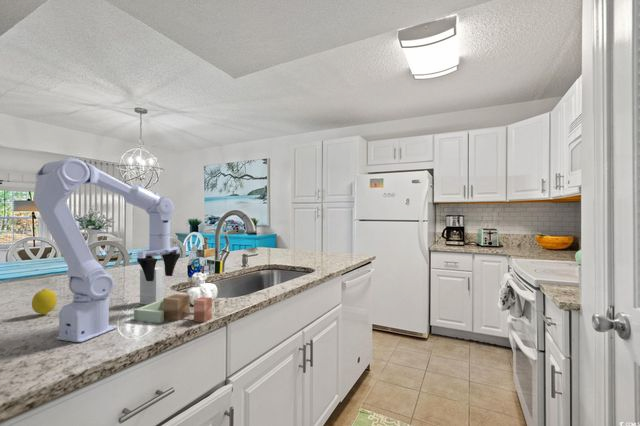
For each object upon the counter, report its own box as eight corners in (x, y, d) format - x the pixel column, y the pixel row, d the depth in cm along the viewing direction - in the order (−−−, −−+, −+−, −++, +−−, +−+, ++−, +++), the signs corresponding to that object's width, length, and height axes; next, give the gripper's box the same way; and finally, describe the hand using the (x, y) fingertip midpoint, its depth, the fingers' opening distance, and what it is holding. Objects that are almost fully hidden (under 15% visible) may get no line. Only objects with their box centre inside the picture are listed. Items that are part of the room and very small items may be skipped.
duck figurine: (214, 303, 106) (202, 277, 109) (226, 293, 103) (213, 266, 106) (185, 313, 95) (172, 284, 99) (197, 301, 92) (183, 272, 96)
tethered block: (202, 323, 80) (202, 301, 80) (163, 319, 83) (163, 298, 84) (213, 317, 85) (213, 296, 85) (175, 313, 88) (175, 294, 88)
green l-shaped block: (160, 322, 81) (160, 312, 81) (134, 320, 83) (134, 309, 83) (186, 311, 90) (186, 301, 90) (161, 309, 93) (161, 299, 93)
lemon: (41, 318, 85) (41, 291, 85) (26, 317, 86) (26, 290, 86) (61, 312, 90) (61, 287, 90) (47, 311, 91) (47, 286, 91)
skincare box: (164, 301, 102) (164, 267, 102) (155, 305, 97) (156, 269, 97) (147, 300, 102) (148, 267, 102) (139, 304, 98) (139, 269, 98)
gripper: (151, 236, 83) (151, 284, 83) (186, 233, 97) (186, 274, 97) (131, 236, 84) (131, 282, 84) (169, 233, 99) (169, 273, 98)
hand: (159, 278), depth 91 cm, fingers open, 7 cm apart
